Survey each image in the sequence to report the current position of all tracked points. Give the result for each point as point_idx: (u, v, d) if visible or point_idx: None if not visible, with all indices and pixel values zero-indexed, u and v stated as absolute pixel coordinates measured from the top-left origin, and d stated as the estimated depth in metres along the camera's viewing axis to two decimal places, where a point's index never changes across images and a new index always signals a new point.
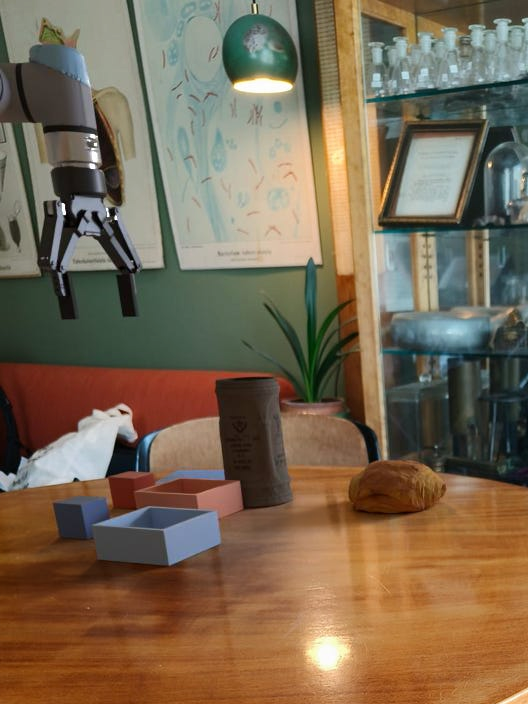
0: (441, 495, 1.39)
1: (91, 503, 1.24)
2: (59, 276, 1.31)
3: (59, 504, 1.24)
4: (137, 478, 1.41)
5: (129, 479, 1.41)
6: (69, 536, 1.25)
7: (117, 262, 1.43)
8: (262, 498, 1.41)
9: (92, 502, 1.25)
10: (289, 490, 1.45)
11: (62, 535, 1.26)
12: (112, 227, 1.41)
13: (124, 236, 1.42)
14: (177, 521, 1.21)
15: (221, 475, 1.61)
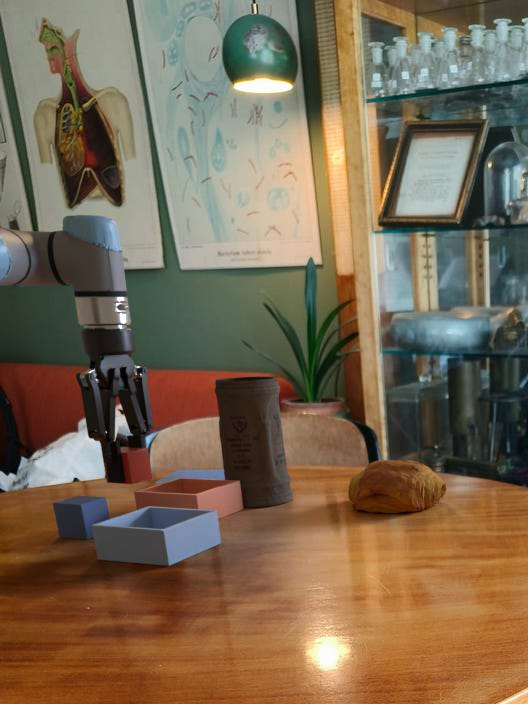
0: (441, 495, 1.39)
1: (91, 503, 1.24)
2: (108, 445, 1.37)
3: (59, 504, 1.24)
4: (131, 453, 1.40)
5: (123, 454, 1.39)
6: (69, 536, 1.25)
7: (130, 420, 1.43)
8: (262, 498, 1.41)
9: (92, 502, 1.25)
10: (289, 490, 1.45)
11: (62, 535, 1.26)
12: (135, 384, 1.43)
13: (144, 394, 1.43)
14: (177, 521, 1.21)
15: (221, 475, 1.61)
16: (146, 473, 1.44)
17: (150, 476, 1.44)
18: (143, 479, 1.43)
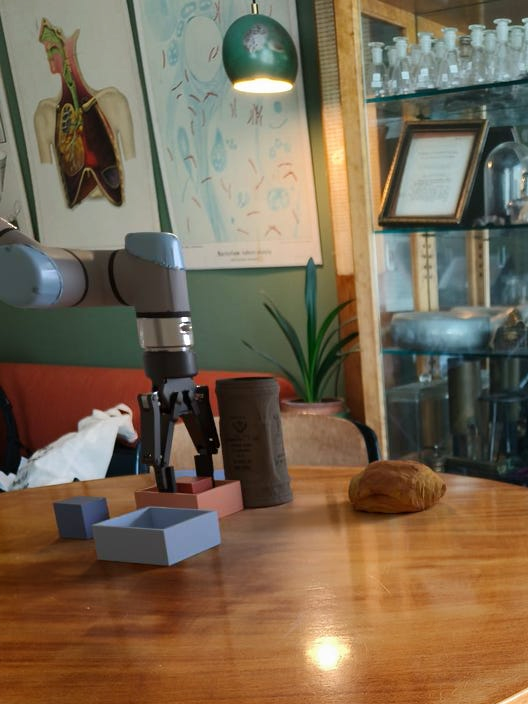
0: (441, 495, 1.39)
1: (91, 503, 1.24)
2: (162, 471, 1.29)
3: (59, 504, 1.24)
4: (195, 483, 1.33)
5: (187, 484, 1.32)
6: (69, 536, 1.25)
7: (197, 441, 1.37)
8: (262, 498, 1.41)
9: (92, 502, 1.25)
10: (289, 490, 1.45)
11: (62, 535, 1.26)
12: (197, 404, 1.36)
13: (208, 414, 1.37)
14: (177, 521, 1.21)
15: (221, 475, 1.61)
16: None
17: None
18: None
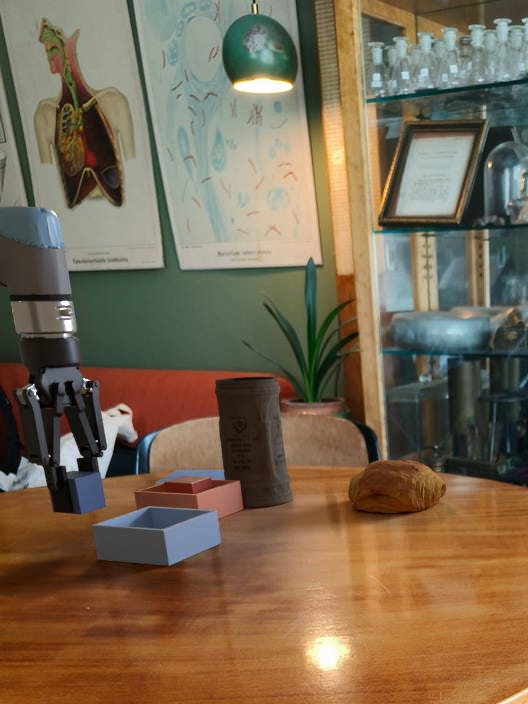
0: (441, 495, 1.39)
1: (85, 478, 1.23)
2: (52, 471, 1.20)
3: None
4: (195, 483, 1.33)
5: (187, 484, 1.32)
6: None
7: (80, 441, 1.25)
8: (262, 498, 1.41)
9: (86, 477, 1.23)
10: (289, 490, 1.45)
11: None
12: (85, 399, 1.25)
13: (95, 411, 1.25)
14: (177, 521, 1.21)
15: (221, 475, 1.61)
16: None
17: None
18: None
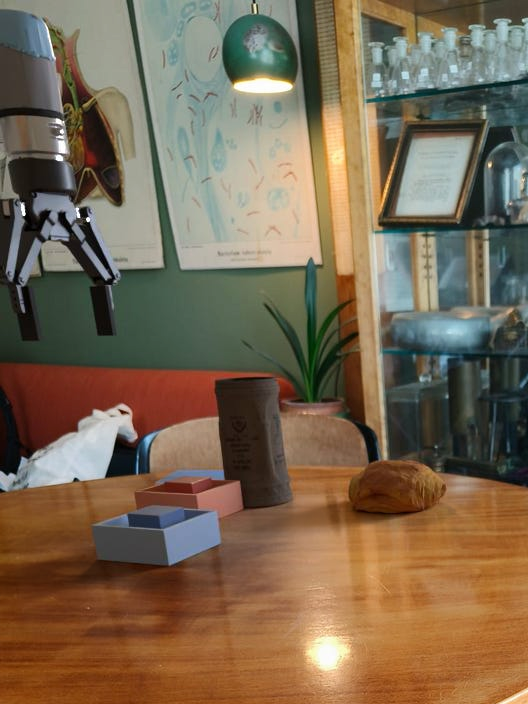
0: (441, 495, 1.39)
1: (169, 514, 1.14)
2: (18, 289, 1.09)
3: (134, 515, 1.14)
4: (195, 483, 1.33)
5: (187, 484, 1.32)
6: None
7: (90, 272, 1.21)
8: (261, 498, 1.41)
9: (170, 512, 1.15)
10: (289, 490, 1.45)
11: None
12: (84, 230, 1.19)
13: (98, 241, 1.20)
14: None
15: (221, 475, 1.61)
16: None
17: None
18: None
